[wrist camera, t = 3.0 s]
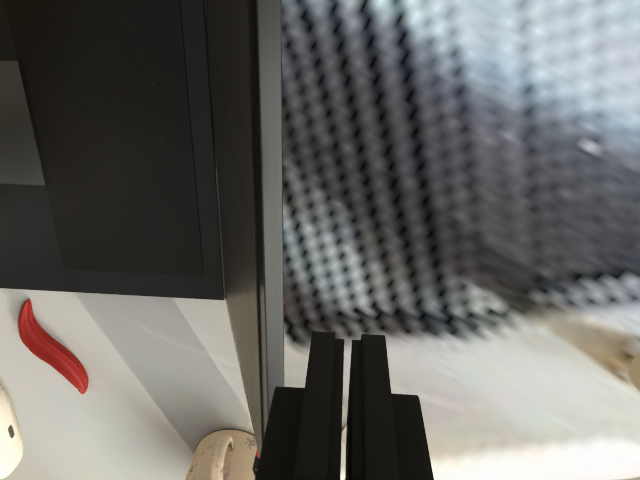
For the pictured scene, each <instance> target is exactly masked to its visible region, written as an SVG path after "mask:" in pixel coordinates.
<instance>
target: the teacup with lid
mask: <svg viewBox="0 0 640 480" xmlns="http://www.w3.org/2000/svg"><path fill="white" fill-rule="evenodd" d="M258 463H259V454H258V450H257V445H256V440H255V436H253V435H251V434H248V433H246V432H242V431H238V430H221V431H217V432H214V433H211V434H209V435H207V436H206V437H205V438H203V439H202V440H201V442H200V443H199V445H198V446H197V449H196V451H195V454H194V457H193V459H192V462H191V465H190V467H189V470H188V473H187V476H186V478H185V480H255V477H256V472H257V467H258Z"/></svg>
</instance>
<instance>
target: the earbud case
mask: <svg viewBox="0 0 640 480" xmlns="http://www.w3.org/2000/svg"><path fill="white" fill-rule="evenodd" d="M22 455H23V441H22V437H21V433H20V430H19V427H18V424H17V421H16V418H15V415H14V412H13V409H12V406H11V404H10V401H9V398H8V396H7V394H6V392H5V391H4V389H3V388H2V387H1V386H0V480H1V479H3V478H5V477H7V476H8V475H10V474H11V473H12V471H13V470H14V469H15V468H16V466H17V465H18V464H19V462H20V460H21V458H22Z"/></svg>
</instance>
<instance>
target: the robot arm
mask: <svg viewBox="0 0 640 480" xmlns="http://www.w3.org/2000/svg"><path fill="white" fill-rule="evenodd" d="M343 361H344V339H335V333H334V332H317V331H313V332H312V338H311V346H310V353H309V361H308V369H307V376H306V384H305V388H294V387H278V386H276V387H275V390H274V394H273V398H272V403H271V407H270V412H269V417H268V421H267V426H266V431H265V435H264V440H263V444H262V449H261V454H260V458H259V463H258V467H257V472H256V477H255V480H340V467H341V432H342V397H343ZM346 480H434V478H433V473H432V467H431V462H430V456H429V450H428V445H427V439H426V433H425V428H424V422H423V417H422V411H421V405H420V401H419V397H418V396H417V395H404V394H391V387H390V378H389V368H388V359H387V349H386V339H385V335H369V334H362V335H361V340H352V351H351V367H350V383H349V398H348V414H347V431H346Z"/></svg>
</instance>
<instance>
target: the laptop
mask: <svg viewBox="0 0 640 480" xmlns="http://www.w3.org/2000/svg"><path fill="white" fill-rule="evenodd" d="M0 288H9V289H28V290H46V291H65V292H83V293H101V294H120V295H138V296H157V297H175V298H194V299H212V300H224V299H225V286H224V271H223V256H222V241H221V226H220V211H219V196H218V181H217V166H216V151H215V136H214V121H213V106H212V91H211V76H210V61H209V46H208V31H207V16H206V1H205V0H0Z"/></svg>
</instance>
